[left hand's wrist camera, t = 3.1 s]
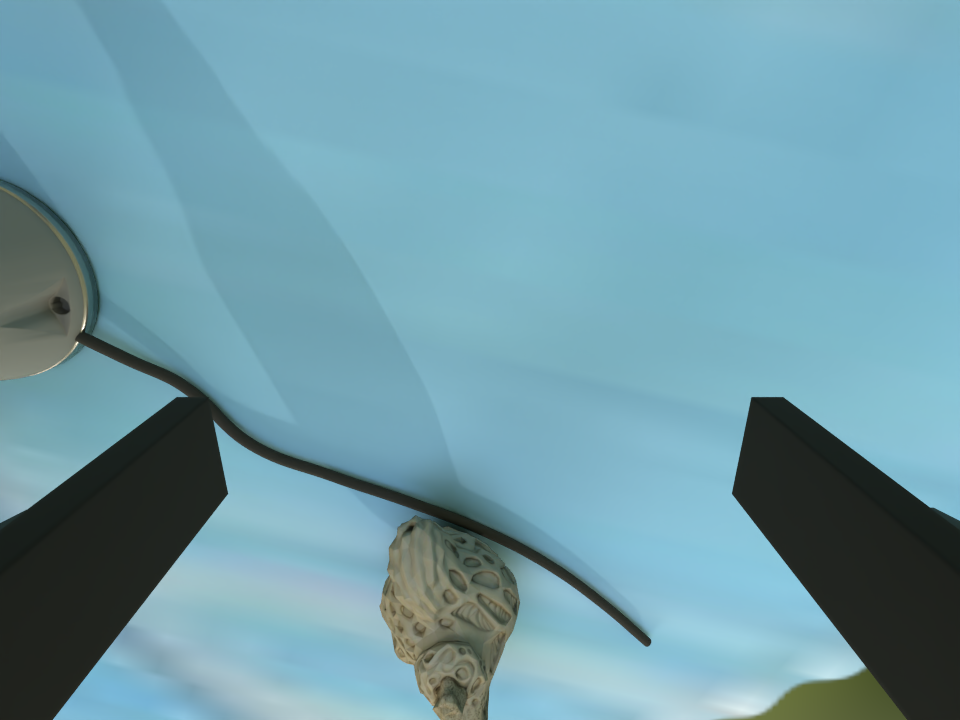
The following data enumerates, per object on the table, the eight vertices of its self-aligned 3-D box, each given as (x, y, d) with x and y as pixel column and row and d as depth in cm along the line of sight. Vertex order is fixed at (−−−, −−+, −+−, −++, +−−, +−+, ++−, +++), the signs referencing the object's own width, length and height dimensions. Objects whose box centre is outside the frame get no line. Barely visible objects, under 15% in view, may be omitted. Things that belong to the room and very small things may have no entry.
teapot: (363, 482, 46) (310, 623, 31) (490, 457, 45) (494, 589, 31) (426, 655, 53) (406, 831, 39) (536, 635, 52) (557, 810, 38)
